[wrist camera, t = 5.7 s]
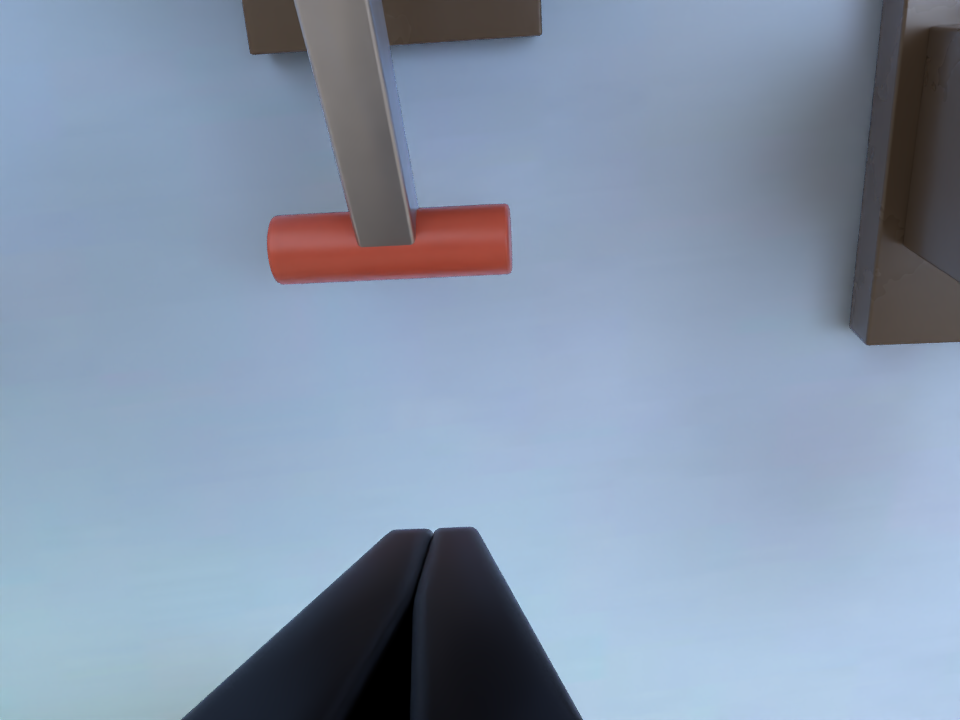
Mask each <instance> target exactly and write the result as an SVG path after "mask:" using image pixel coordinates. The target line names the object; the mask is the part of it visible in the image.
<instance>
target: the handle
mask: <svg viewBox="0 0 960 720" xmlns="http://www.w3.org/2000/svg"><path fill="white" fill-rule="evenodd" d="M294 3H295V7H296V11H297V14H298V18H299V22H300V26H301V30H302V34H303V37H304V41H305V45H306V49H307V53H308V57H309V60H310V64H311V68H312V72H313V76H314V80H315V83H316V87H317V91H318V95H319V99H320V103H321V107H322V110H323V114H324V118H325V122H326V126H327V130H328V133H329V137H330V141H331V145H332V149H333V153H334V156H335V160H336V164H337V168H338V172H339V176H340V179H341V183H342V187H343V191H344V195H345V199H346V202H347V206H348V210H349V212H332V213H313V214H294V215H277V216H275V217H273V218H272V219H271V221H270V224H269V228H268V234H267V252H268V259H269V264H270V268H271V271H272V274H273V276H274V278H275V280H276V281H277V282H278V283H280V284H304V283H326V282H348V281H370V280H392V279H414V278H435V277H457V276H479V275H501V274H509V273H511V271H512V237H511V220H510V209H509V206H508V205H507V204H486V205H467V206H448V207H429V208H419V207H418V201H417V196H416V190H415V185H414V179H413V173H412V168H411V162H410V157H409V151H408V145H407V140H406V134H405V129H404V123H403V118H402V112H401V106H400V101H399V95H398V90H397V84H396V78H395V73H394V67H393V62H392V56H391V51H390V45H389V39H388V34H387V28H386V23H385V17H384V11H383V6H382V0H294Z"/></svg>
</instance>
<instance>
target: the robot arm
mask: <svg viewBox="0 0 960 720" xmlns="http://www.w3.org/2000/svg"><path fill="white" fill-rule="evenodd" d="M181 720H583V719H582V717H581V716H580V714H579V712H578V710H577V708H576V707H575V705H574V703H573V701H572V699H571V698H570V696H569V694H568V692H567V690H566V689H565V687H564V685H563V683H562V681H561V680H560V678H559V676H558V674H557V672H556V671H555V669H554V667H553V665H552V663H551V662H550V660H549V658H548V656H547V654H546V653H545V651H544V649H543V647H542V645H541V644H540V642H539V640H538V638H537V636H536V635H535V633H534V631H533V629H532V627H531V626H530V624H529V622H528V620H527V618H526V617H525V615H524V613H523V611H522V609H521V608H520V606H519V604H518V602H517V600H516V599H515V597H514V595H513V593H512V591H511V590H510V588H509V586H508V584H507V583H506V581H505V579H504V577H503V575H502V574H501V572H500V570H499V568H498V566H497V565H496V563H495V561H494V559H493V557H492V556H491V554H490V552H489V550H488V548H487V547H486V545H485V543H484V541H483V539H482V538H481V536H480V534H479V532H478V531H477V530H476V529H475V528H473V527H454V528H439V529H437V530H436V531H435V532H434V534H433V533H432V531H431V530H429V529H402V530H393V531H391V532H389V533H388V534H387V535H385V536H384V537H383V538H382V539H381V540H380V541H379V542H378V543H377V544H375V545H374V546H373V547H372V548H371V549H370V550H369V551H368V552H367V553H365V554H364V555H363V556H362V557H361V558H360V559H359V560H358V561H357V562H355V563H354V564H353V565H352V566H351V567H350V568H349V569H348V570H347V571H345V572H344V573H343V574H342V575H341V576H340V577H339V578H338V579H337V580H336V581H334V582H333V583H332V584H331V585H330V586H329V587H328V588H327V589H326V590H324V591H323V592H322V593H321V594H320V595H319V596H318V597H317V598H316V599H314V600H313V601H312V602H311V603H310V604H309V605H308V606H307V607H306V608H304V609H303V610H302V611H301V612H300V613H299V614H298V615H297V616H296V617H294V618H293V619H292V620H291V621H290V622H289V623H288V624H287V625H286V626H285V627H283V628H282V629H281V630H280V631H279V632H278V633H277V634H276V635H275V636H273V637H272V638H271V639H270V640H269V641H268V642H267V643H266V644H265V645H263V646H262V647H261V648H260V649H259V650H258V651H257V652H256V653H255V654H253V655H252V656H251V657H250V658H249V659H248V660H247V661H246V662H245V663H243V664H242V665H241V666H240V667H239V668H238V669H237V670H236V671H235V672H233V673H232V674H231V675H230V676H229V677H228V678H227V679H226V680H225V681H224V682H222V683H221V684H220V685H219V686H218V687H217V688H216V689H215V690H214V691H212V692H211V693H210V694H209V695H208V696H207V697H206V698H205V699H204V700H202V701H201V702H200V703H199V704H198V705H197V706H196V707H195V708H194V709H192V710H191V711H190V712H189V713H188V714H187V715H186V716H185V717H184V718H182V719H181Z"/></svg>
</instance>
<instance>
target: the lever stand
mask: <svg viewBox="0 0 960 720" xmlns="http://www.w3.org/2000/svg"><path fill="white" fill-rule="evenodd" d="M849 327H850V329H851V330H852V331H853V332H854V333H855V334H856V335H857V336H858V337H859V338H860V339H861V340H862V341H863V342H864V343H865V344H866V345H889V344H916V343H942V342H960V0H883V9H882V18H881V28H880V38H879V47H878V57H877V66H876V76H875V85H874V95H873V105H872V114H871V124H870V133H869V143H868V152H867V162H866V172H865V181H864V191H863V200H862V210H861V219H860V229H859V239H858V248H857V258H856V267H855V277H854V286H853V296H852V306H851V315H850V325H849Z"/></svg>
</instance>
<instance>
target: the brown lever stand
mask: <svg viewBox="0 0 960 720" xmlns="http://www.w3.org/2000/svg"><path fill="white" fill-rule="evenodd" d="M242 5H243V11H244V17H245V24H246V30H247V37H248V43H249V49H250V53H251V54H252V55H258V54H273V53H288V52H303V51H307V49H306V45H305V41H304V37H303V34H302V30H301V26H300V22H299V18H298V14H297V11H296V7H295V3H294V0H242ZM382 6H383V11H384V17H385V23H386V28H387V34H388V39H389V45H390V46H393V45H408V44H423V43H438V42H453V41H468V40H483V39H498V38H513V37H528V36H540V35H542V16H541V0H382Z"/></svg>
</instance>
